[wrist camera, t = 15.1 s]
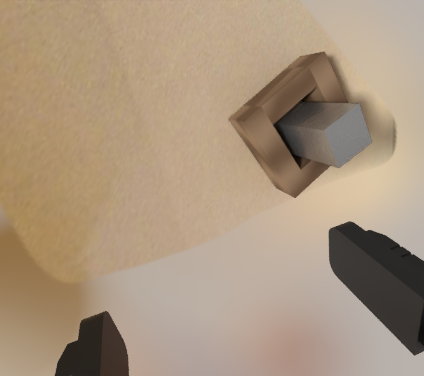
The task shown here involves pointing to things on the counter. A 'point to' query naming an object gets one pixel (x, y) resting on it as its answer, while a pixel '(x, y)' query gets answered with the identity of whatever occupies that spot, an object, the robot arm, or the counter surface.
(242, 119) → the well block
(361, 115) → the grey square pillar
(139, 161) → the counter surface
